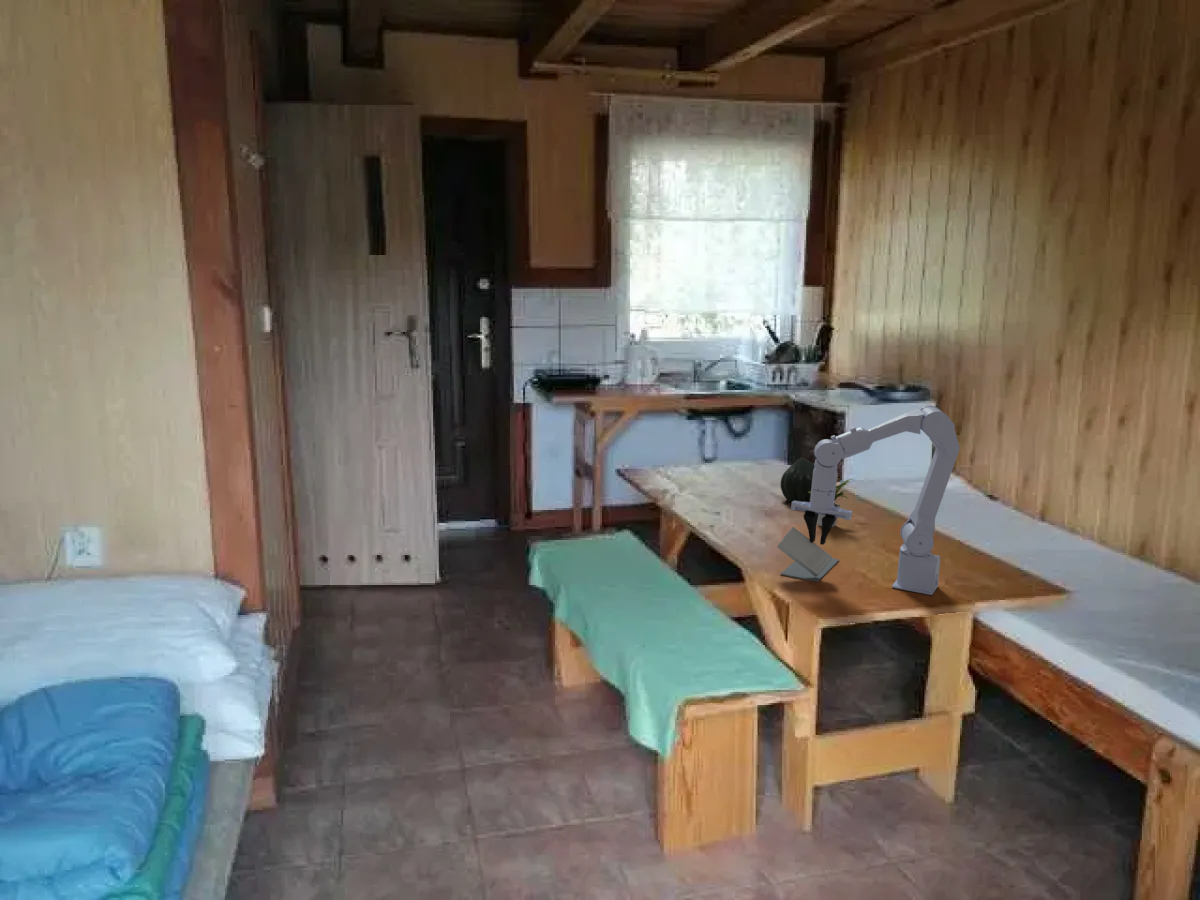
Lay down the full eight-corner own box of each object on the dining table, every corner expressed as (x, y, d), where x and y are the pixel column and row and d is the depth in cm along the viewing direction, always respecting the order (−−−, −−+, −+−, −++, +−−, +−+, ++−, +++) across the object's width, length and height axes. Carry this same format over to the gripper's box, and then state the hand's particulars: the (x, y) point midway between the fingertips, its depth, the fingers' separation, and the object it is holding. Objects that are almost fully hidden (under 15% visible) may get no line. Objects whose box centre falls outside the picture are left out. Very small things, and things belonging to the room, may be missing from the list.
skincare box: (830, 559, 232) (792, 529, 235) (833, 556, 227) (793, 525, 231) (815, 578, 231) (776, 547, 234) (817, 575, 227) (777, 544, 230)
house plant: (853, 535, 269) (858, 480, 265) (804, 531, 271) (809, 476, 268) (850, 521, 282) (855, 469, 279) (804, 517, 285) (808, 465, 282)
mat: (839, 560, 245) (839, 559, 245) (817, 582, 229) (817, 580, 228) (803, 554, 250) (803, 553, 250) (780, 575, 233) (780, 573, 233)
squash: (824, 495, 291) (828, 454, 298) (776, 492, 296) (781, 451, 303) (826, 515, 303) (830, 475, 310) (780, 512, 307) (785, 473, 314)
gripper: (857, 491, 226) (851, 544, 229) (799, 481, 233) (794, 533, 236) (849, 496, 220) (843, 551, 223) (790, 486, 227) (785, 539, 229)
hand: (817, 542), depth 229 cm, fingers closed
